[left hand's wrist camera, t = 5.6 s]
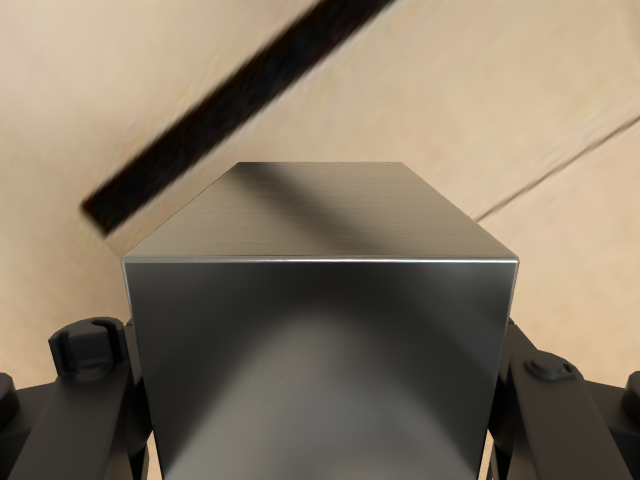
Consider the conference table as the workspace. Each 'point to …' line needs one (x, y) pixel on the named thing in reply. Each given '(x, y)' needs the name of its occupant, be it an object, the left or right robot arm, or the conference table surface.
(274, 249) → the box
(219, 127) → the conference table surface
